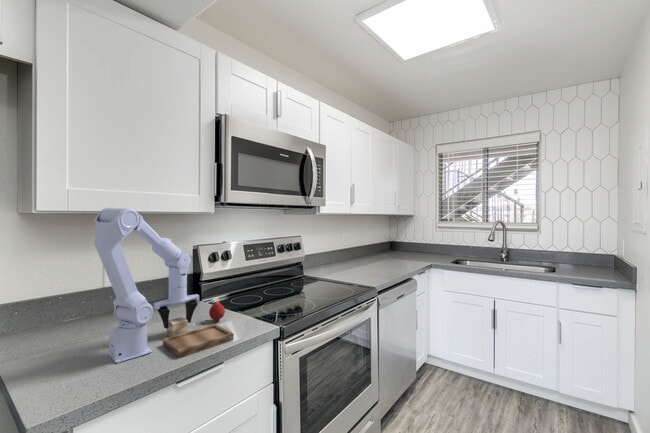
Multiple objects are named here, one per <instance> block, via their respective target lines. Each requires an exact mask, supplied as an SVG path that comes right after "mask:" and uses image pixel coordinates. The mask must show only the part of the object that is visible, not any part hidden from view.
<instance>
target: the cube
mask: <svg viewBox="0 0 650 433" xmlns="http://www.w3.org/2000/svg"><path fill="white" fill-rule="evenodd" d="M168 321H169V327H168V328H167V329H166V335H167V336H168V337H172V336H175V335H179V334H182V333H186V332H189V330H188V327H189V326H188V324H189V323H188V320H186V318H184V317H183V316H180V317H176V318H171V319H168Z"/></svg>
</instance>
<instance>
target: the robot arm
mask: <svg viewBox="0 0 650 433" xmlns="http://www.w3.org/2000/svg"><path fill="white" fill-rule="evenodd" d="M93 221H94V224H95V227H96V228H95V233H94V234H95V235H94V246H95V249H96V251H97V254H98V255H99V258H100V260H101V263H102V266H103V268H104V271H105V273H106V275H107V277H108V280H109V283H110V285H111V287H112V291H113V292H114V295H115V299H114V300H113V301H112V304H113V307H114V309H113V316H114V318H115V320H118V326H116V327H114V328H111V329H110V330H109V334H108V336H109V337H108V338H109V340H108V341H109V342H108V344H109V345H108V346H109V348H108V349H109V351H108V356H109V357H110V358H111V359H112V360H113V361H114V363H116V364H119V363H122V362H125V361H129V360H132V359H134V358H135V359H136V358H139V357H142V356H144V355H145V356H146V355H149V354H151V353H153V350H152V349H151V348H150V347H149V346H148V324H149V322H150V321H151V319H152V317H153V315H154V309H155V310H157V312H158V314H159V315H160V318H161V321H162V324H163V328H164V329H166V330H167V328H168V327H169V321H168V320H170V319H169V317H170V309H169V307H171V306H176V305H180V304H185V319H186V320H188V324H190V323H192V318H193V316H194V312H195V310H196V308H197V306H198V301H200V295H199V294H197V293H195V294H188V292H187V290H188V281H187V280H188V272H189V266H190V265H191V263H192V259H191V258H190V255H189V254H188V253H187V252H186V251H185V252H184V251H182V250H181V248H180V247H178V246H176V245H175V244H174V243H173V242H172V241H173V240H172V239H171V238H170V237H169V238H167V237H161V236H160V235H159V234H158V233H157V232H156V231H155V230H154V229H153V228H152V227H151V226H150V225H149V224H148V223H147V222H146V221H145V220H144V217H143V216H142V214H139V213H138V211H136V210H135V209H133V208H131V207H126V208H115V207H114V208H113V207H105V208H103V209H101V210H100V211H99V212H98V214H97V215H96V217H95V218H94V219H93ZM132 232H133V233H135V234H136V235H138V236H139V237H140V238H142V239H143V240H144V241H145V242H147V243H148V244H149V245H151V248H152V249H151V250H152V252H153V253H155V254H156V255H157V256H158V257H159V258H161V259H162V260H163V262H164V265H165V266H166V267H168V298H166V299H163V300H160V301H155V302H153V304H154V305H153V306H154V307H153V306H152V304H150V303H149V302H148V300H147V298H146V297H145V296H144V295H143V294H142V293H140V291H139V290H138V288H137V285H136V283H135V280H134V277H133V274H132V272H131V269H130V267H129V264H128V261H127V258H126V256H125V252H124V251H123V248H122V246H121V243H122V242H123V240H124V239H125V238H127V236H128V235H129V234H131V233H132Z"/></svg>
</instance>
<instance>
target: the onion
mask: <svg viewBox="0 0 650 433" xmlns="http://www.w3.org/2000/svg"><path fill="white" fill-rule="evenodd" d="M225 313H226V309H225V307H224V305H223V304H221V303H220V301H219V300H216V302H215V303H214V304H212V305H211V307H210V308H209V310H208V315H209V317H210V319H211V320H214V321H215V322H218V321H220V320H221V319H222V318H223V317H224V315H225Z"/></svg>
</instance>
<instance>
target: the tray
mask: <svg viewBox="0 0 650 433" xmlns="http://www.w3.org/2000/svg"><path fill="white" fill-rule="evenodd" d="M231 340H232V341H234V332H231V331H229V330H228V329H225V328H223V327H222V326H220V325H218V324H212V325H208V326H205V327H200V328H196V329H194V330H190V331H188V332H186V333H182V334H179V335H175V336H172V337H170V336H168V337H165V338H163V339H162V346H163V347H164V348H165V349H166V350H168V351H169V352H170V353H172V354H173V355H174V356H176V357H177V358H178V359H180V358H184V357H187V356H191V355H193V354H195V353H198V352H199V353H200V352H202V351H205V350H208V349H210V348H213V347H216V346H219V345H223V344H225V343H226V344H227V343H228V342H232V341H231Z"/></svg>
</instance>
